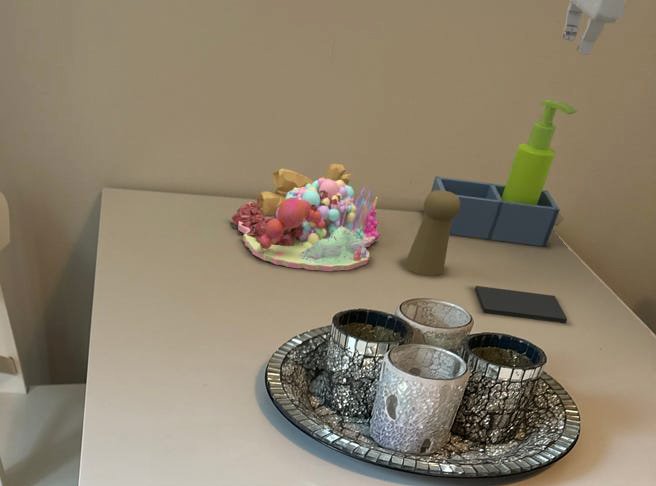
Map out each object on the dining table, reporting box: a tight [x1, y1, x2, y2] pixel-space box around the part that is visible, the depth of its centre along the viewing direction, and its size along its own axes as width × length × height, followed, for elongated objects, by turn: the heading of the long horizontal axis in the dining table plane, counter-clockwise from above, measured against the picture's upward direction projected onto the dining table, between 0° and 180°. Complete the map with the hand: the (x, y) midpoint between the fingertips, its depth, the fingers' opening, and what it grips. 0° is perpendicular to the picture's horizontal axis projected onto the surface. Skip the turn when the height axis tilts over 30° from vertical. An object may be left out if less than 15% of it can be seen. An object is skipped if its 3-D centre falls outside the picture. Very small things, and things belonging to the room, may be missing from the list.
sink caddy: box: [430, 175, 561, 248], centre depth 154 cm, size 19×9×6 cm, turn 86°
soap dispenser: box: [501, 99, 578, 205], centre depth 149 cm, size 6×7×20 cm
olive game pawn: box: [404, 190, 460, 277], centre depth 137 cm, size 6×6×11 cm
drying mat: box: [474, 285, 568, 324], centre depth 134 cm, size 12×8×1 cm, turn 86°
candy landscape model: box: [231, 163, 380, 272], centre depth 142 cm, size 25×24×9 cm
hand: (575, 46), depth 137 cm, fingers open, 8 cm apart
